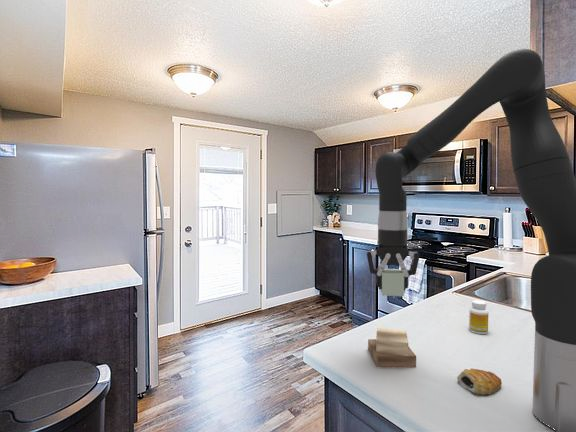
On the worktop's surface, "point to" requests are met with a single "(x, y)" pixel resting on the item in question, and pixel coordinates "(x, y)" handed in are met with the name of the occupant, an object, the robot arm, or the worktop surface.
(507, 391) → the worktop surface
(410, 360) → the block bottom
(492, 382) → the pastry
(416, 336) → the worktop surface
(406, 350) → the block top
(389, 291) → the sage block
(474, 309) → the supplement bottle
